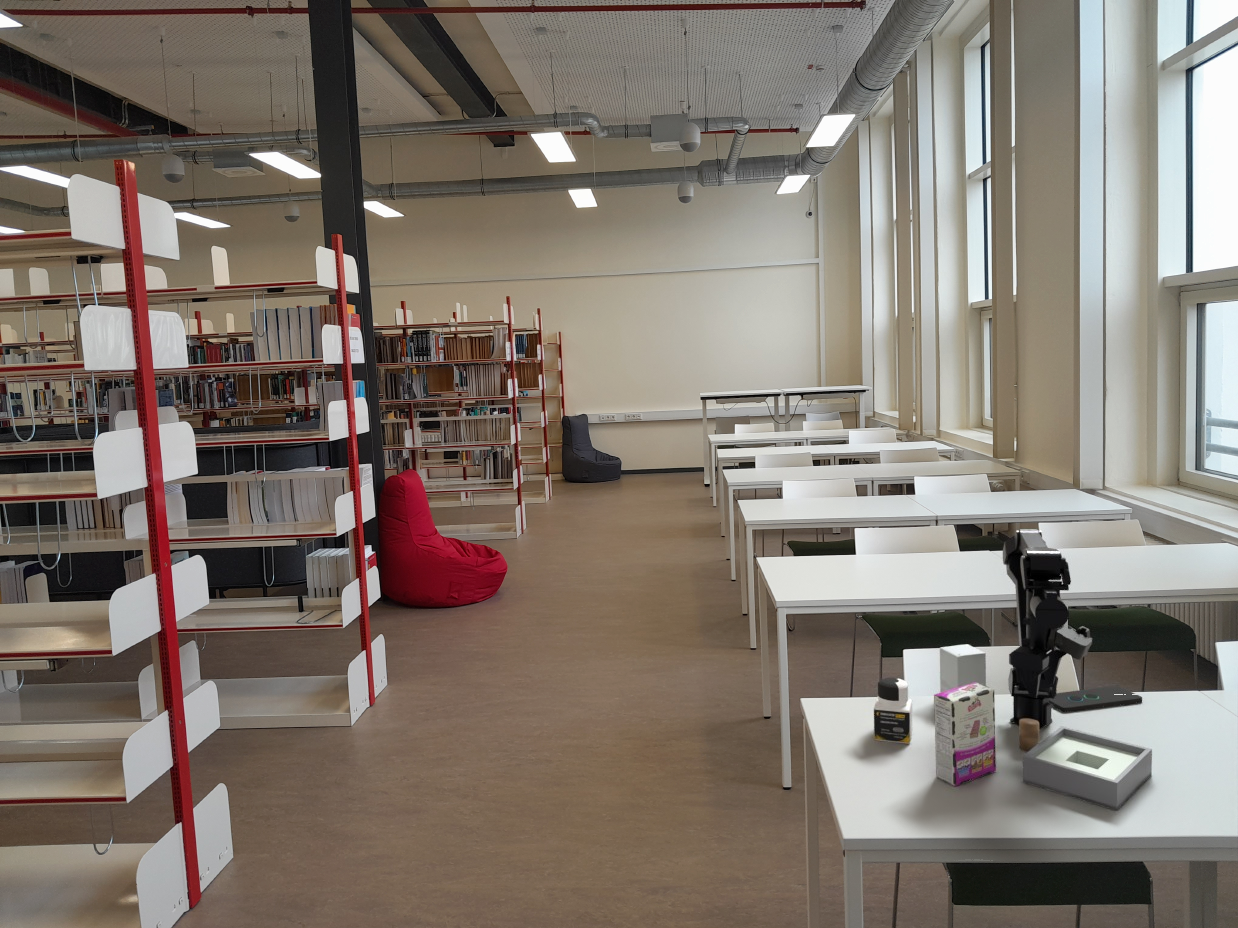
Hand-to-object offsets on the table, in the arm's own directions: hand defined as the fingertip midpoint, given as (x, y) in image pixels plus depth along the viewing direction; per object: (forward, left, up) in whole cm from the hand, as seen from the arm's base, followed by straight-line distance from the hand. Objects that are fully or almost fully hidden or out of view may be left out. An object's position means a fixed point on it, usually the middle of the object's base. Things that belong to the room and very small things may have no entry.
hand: (1042, 690), depth 176 cm
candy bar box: (-6, -20, -12) cm, 24 cm away
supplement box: (-22, +12, -12) cm, 29 cm away
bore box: (+11, -7, -12) cm, 18 cm away
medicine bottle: (-25, -13, -12) cm, 31 cm away
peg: (-2, -1, -12) cm, 12 cm away
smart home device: (-2, +32, -13) cm, 35 cm away
